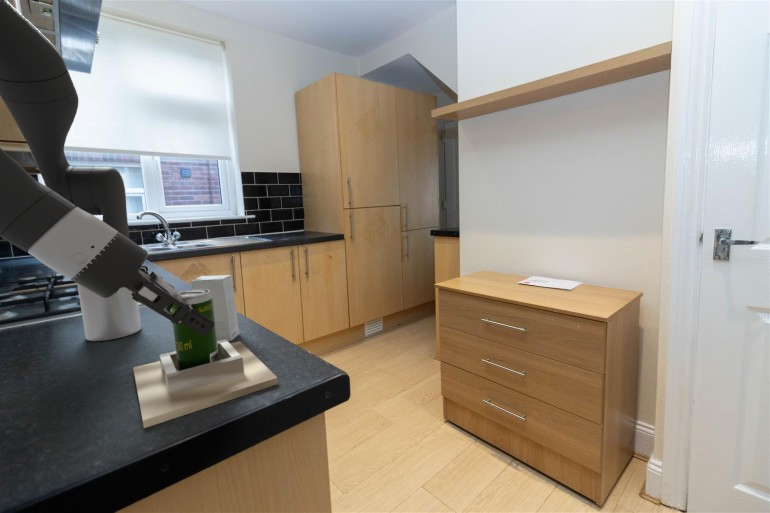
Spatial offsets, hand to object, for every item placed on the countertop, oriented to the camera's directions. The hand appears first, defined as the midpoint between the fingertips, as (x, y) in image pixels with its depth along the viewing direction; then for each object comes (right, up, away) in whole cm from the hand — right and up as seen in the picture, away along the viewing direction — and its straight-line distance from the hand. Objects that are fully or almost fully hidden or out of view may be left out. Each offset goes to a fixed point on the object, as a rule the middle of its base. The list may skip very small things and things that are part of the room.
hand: (203, 321), depth 54 cm
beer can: (-1, -8, 0) cm, 8 cm away
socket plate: (0, -9, +1) cm, 9 cm away
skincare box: (-5, -6, +17) cm, 19 cm away
